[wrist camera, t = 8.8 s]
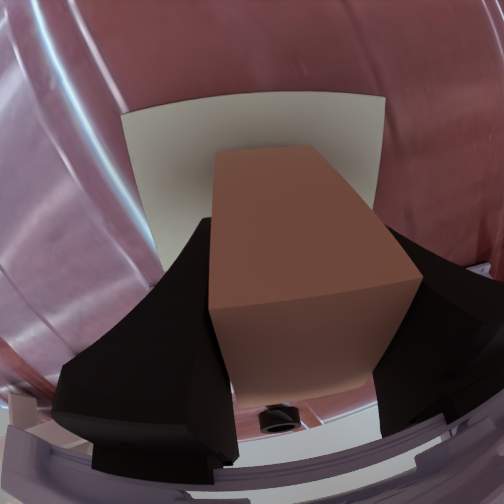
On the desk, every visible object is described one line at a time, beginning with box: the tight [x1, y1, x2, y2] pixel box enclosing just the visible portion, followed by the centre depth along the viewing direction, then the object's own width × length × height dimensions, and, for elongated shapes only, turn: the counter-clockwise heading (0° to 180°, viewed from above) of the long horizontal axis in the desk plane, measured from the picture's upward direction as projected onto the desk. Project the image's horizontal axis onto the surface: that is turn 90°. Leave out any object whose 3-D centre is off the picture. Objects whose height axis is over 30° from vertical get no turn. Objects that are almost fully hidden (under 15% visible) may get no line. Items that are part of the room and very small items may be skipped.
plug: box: [208, 145, 423, 408], centre depth 9 cm, size 4×5×8 cm
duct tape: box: [259, 407, 301, 434], centre depth 34 cm, size 8×10×3 cm
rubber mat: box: [121, 91, 385, 271], centre depth 13 cm, size 12×9×1 cm
